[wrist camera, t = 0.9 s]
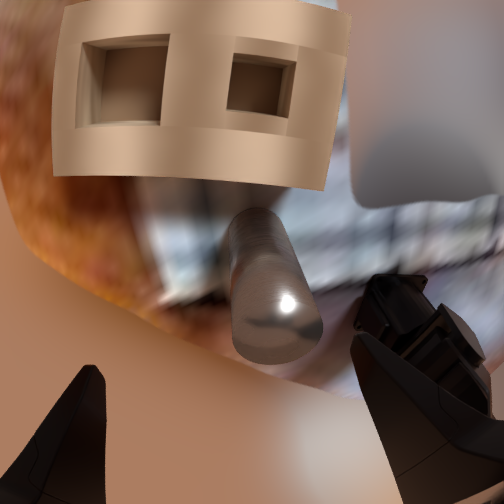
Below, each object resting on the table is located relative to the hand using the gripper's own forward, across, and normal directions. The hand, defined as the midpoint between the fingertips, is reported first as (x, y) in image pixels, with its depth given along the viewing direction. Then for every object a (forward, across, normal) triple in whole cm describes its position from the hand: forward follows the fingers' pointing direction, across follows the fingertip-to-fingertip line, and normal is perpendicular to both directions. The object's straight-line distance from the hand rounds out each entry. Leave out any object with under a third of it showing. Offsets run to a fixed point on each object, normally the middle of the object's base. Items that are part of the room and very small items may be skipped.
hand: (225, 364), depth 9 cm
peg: (+12, -3, +2) cm, 13 cm away
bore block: (+13, 0, -8) cm, 16 cm away
